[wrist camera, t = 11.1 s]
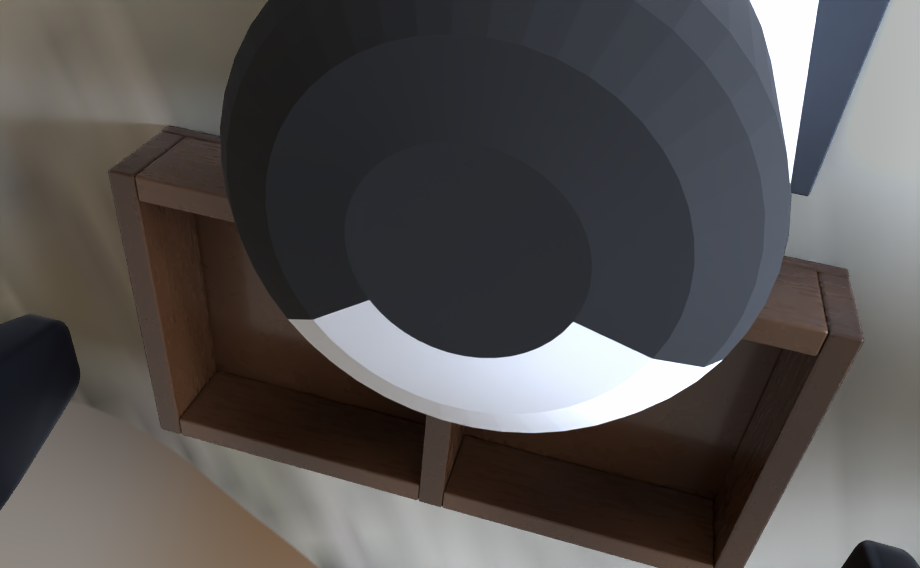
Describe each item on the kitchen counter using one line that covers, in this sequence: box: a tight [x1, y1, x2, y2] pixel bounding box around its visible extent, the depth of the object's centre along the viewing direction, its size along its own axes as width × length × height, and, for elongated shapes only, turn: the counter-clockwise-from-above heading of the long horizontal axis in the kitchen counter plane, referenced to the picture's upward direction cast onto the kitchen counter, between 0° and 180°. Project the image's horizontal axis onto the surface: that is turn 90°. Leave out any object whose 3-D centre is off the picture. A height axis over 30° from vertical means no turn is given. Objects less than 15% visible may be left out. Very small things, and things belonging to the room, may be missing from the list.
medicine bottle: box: [220, 0, 819, 433], centre depth 12 cm, size 7×7×12 cm
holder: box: [108, 126, 864, 568], centre depth 23 cm, size 19×10×3 cm, turn 85°
